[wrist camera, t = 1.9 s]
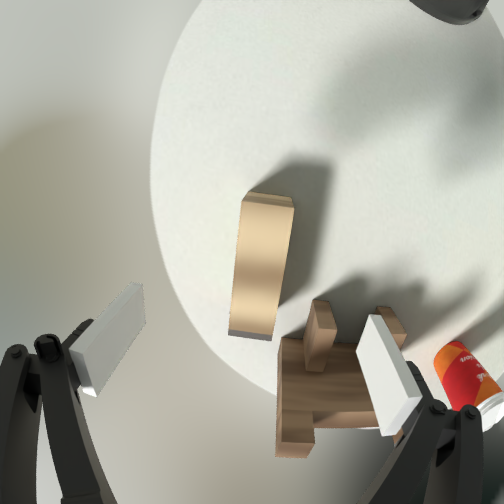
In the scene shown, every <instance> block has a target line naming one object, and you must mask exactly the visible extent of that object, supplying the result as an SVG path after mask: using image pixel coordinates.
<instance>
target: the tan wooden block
mask: <svg viewBox="0 0 504 504" xmlns="http://www.w3.org/2000/svg"><path fill="white" fill-rule="evenodd" d="M293 215H294V205H293V202H292V199H291V197H285V196H278V195H271V194H264V193H256V192H247V194H246V195H245V197H244V198H243V200H242V202H241V211H240V220H239V229H238V239H237V248H236V258H235V268H234V278H233V288H232V298H231V309H230V319H229V330H228V335H230V336H237V337H244V338H251V339H258V340H266V341H271V340H272V335H273V330H274V325H275V319H276V314H277V309H278V303H279V298H280V292H281V287H282V281H283V276H284V270H285V264H286V258H287V252H288V246H289V240H290V234H291V228H292V221H293Z"/></svg>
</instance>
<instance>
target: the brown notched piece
mask: <svg viewBox="0 0 504 504" xmlns="http://www.w3.org/2000/svg"><path fill="white" fill-rule="evenodd" d="M374 315H381V317H382V318H383V320H384V322H385V324H386V325H387V327H388V329H389V331H390V333H391V335H392V336H393V338H394V340H395V342H396V344H397V346H398V348H399V350H400V349H401V347H402V345H403V343H404V340H405V338H406V336H407V333H406V332H405V330H404V328H403V327H402V325H401V323H400V322H399V320H398V319H397V317H396V315H395V314H394V312H393V311H392V309H391V308H390V307H379V306H377V308H376V311H375V314H374ZM336 333H337V327H336V323H335V320H334V317H333V314H332V310H331V307H330V304H329V301H320V300H312V305H311V309H310V313H309V317H308V321H307V325H306V329H305V332H304V336H303V340H302V339H292V338H283V337H282V338H281V342H280V347H279V351H278V372H277V421H276V452H275V457H286V458H307V456H308V455H309V453H310V451H311V450H312V448H313V446H314V444H315V437H314V428H364V427H379V424H378V420H377V417H376V414H375V410H374V407H373V403H372V400H371V397H370V394H369V390H368V387H367V384H366V381H365V378H364V375H363V372H362V369H361V366H360V362H359V359H358V357H357V354H356V350H357V347H358V344H351V343H336V342H334V339H335V336H336ZM402 434H403V430H402V427H401V428H400V430H399V431H398V432H397V434H396V435H392V436H393V440H394V443H396V442H397V441H398V440H399V438H400V437H401V436H402Z"/></svg>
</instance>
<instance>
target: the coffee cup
mask: <svg viewBox="0 0 504 504" xmlns="http://www.w3.org/2000/svg"><path fill="white" fill-rule="evenodd" d="M434 367H435V370H436V372H437V374H438V377H439V379H440V381H441V383H442V385H443V388H444V390H445V392H446V394H447V397H448V399H449V401H450V404H451V406H452V408H453V410H454V411H460V409H461V408H462V407H463V406H464V405H466V404H471V405H473V406H475V407H477V408H478V409H479V411H480V413H481V417H482V430H483V432H484V431H485V430H486V431H487V430H488V429H490V428H491V427H492V426H493V424H494V423H497V422H498V421H499V420H500V419H501V418H502V417H503V416H504V392H503V391H502V390H501V389H500V387H499V386H498V385H497V384H496V382H495V381H494V380H493V379H492V377H491V376H490V375H489V374H488V372H487V371H486V370H485V369H484V368H483V366H482V365H481V364H480V363H479V362H478V361H477V359H476V358H475V357H474V356H473V355H472V354H471V353H470V351H469V350H468V349H467V348H466V347H465V346H464V345H463V344H462V343H461V342H459V341H453V342H450V343H448V344H447V345H445V346H444V347H443V348H442V349H441V350H440V351H439V352H438V353H437V355H436V356H435V359H434Z"/></svg>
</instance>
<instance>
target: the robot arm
mask: <svg viewBox="0 0 504 504" xmlns="http://www.w3.org/2000/svg"><path fill="white" fill-rule="evenodd" d="M410 1H411V2H412V3H413V4H415V5H416V6H417V7H419V8H420V9H422V10H423V11H425V12H426V13H428V14H430V15H431V16H433V17H435V18H437V19H439V20H442V21H444V22H447V23H451V24H456V25H463V24H467V23H469V22H471V21H473V20H475V19H477V18H478V17H479V16H480V15H481V13H482V12H483V10H484V8H485V6H486V5H487V3H488V1H489V0H410ZM145 324H146V320H145V309H144V296H143V284H138V283H134V282H131V283H130V284H129V285H128V286H127V287H126V288H125V289H124V290H123V291H122V292H121V293H120V294H119V295H118V296H117V297H116V298H115V299H114V300H113V301H112V302H111V303H110V305H109V306H108V307H107V308H106V309H105V310H104V311H103V312H102V313H101V314H100V315H99V316H98V317H97V318H96V319H95V320H93V319H88V320H86V321H84V322H82V323H81V324H80V325H79V326H78V327H77V328H76V330H74V331H73V332H72V334H70V335H69V336H68V338H67V339H66V340H65V341H64V342H63V343H62V344H61V343H60V340H59V338H58V337H57V336H56V335H54V334H45V335H41V336H40V337H38V338H37V339H36V340H35V342H34V347H35V349H36V352H37V355H35V354H29V353H28V350H27V348H26V347H25V346H24V345H21V344H16V345H13V346H11V347H10V348H8V349H7V351H6V352H5V355H4V357H3V360H2V363H1V366H0V504H37V501H36V461H37V444H38V432H39V423H40V415H41V408H42V402H43V410H44V417H45V423H46V429H47V434H48V439H49V445H50V449H51V454H52V458H53V462H54V466H55V470H56V473H57V477H58V481H59V484H60V487H61V490H62V494H63V497H62V499H61V504H117V501H116V500H115V497H114V495H113V493H112V491H111V488H110V486H109V484H108V482H107V479H106V477H105V474H104V472H103V469H102V467H101V464H100V462H99V459H98V456H97V454H96V451H95V448H94V445H93V442H92V439H91V436H90V433H89V430H88V426H87V423H86V420H85V416H84V413H83V409H82V405H81V402H80V397H79V393H78V391H77V389H78V387H79V386H80V385H81V386H82V389H83V391H84V393H87V394H89V395H92V396H95V397H97V396H98V395H99V393H100V392H101V390H102V389H103V387H104V386H105V384H106V382H107V381H108V379H109V378H110V376H111V374H112V373H113V372H114V370H115V368H116V367H117V365H118V364H119V362H120V361H121V359H122V358H123V356H124V355H125V353H126V352H127V350H128V349H129V347H130V346H131V344H132V343H133V341H134V340H135V338H136V337H137V335H138V334H139V332H140V331H141V330H142V328H143V326H144V325H145ZM356 354H357V357H358V359H359V362H360V366H361V369H362V372H363V375H364V378H365V381H366V384H367V387H368V390H369V394H370V397H371V400H372V403H373V407H374V410H375V414H376V417H377V420H378V424H379V427H380V431H381V435H382V436H388V435H396V434H397V432H398V431H399V430H400V428H401V427H402V430H403V434H402V436H401V437H400V438H399V440H398V441H397V442H396V443H395V444H394V446H395V448H394V449H393V451H392V453H391V454H390V456H389V457H388V459H387V461H386V462H385V464H384V466H383V467H382V468H381V470H380V471H379V473H378V474H377V476H376V477H375V479H374V480H373V482H372V483H371V485H370V486H369V488H368V489H367V490H366V491H365V493H364V494H363V496H362V497H361V498H360V500H359V501H358V502H357V504H409V502H410V500H411V498H412V497H413V495H414V493H415V491H416V489H417V487H418V485H419V483H420V481H421V479H422V477H423V475H424V473H425V471H426V469H427V466H428V464H429V462H430V460H431V457H432V461H431V468H430V474H429V479H428V484H427V489H426V494H425V499H424V503H423V504H481V500H482V487H483V430H482V417H481V413H480V411H479V409H478V408H477V407H475V406H473V405H471V404H466V405H464V406H463V407H462V408H461V409H460V411H454V410H448V409H447V406H446V405H445V404H444V403H443V402H441V401H440V400H437V399H434V398H433V396H432V394H431V392H430V390H429V388H428V386H427V384H426V382H425V381H424V378H423V376H422V375H421V373H420V371H419V369H418V367H417V366H416V365H415V364H414V363H413V362H412V361H405V359H404V357H403V355H402V353H401V352H400V350H399V348H398V346H397V344H396V342H395V340H394V338H393V336H392V335H391V333H390V331H389V329H388V327H387V325H386V324H385V322H384V320H383V318H382V317H381V315H371V314H369V317H368V320H367V323H366V325H365V328H364V331H363V334H362V336H361V339H360V342H359V344H358V347H357V350H356Z"/></svg>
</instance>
